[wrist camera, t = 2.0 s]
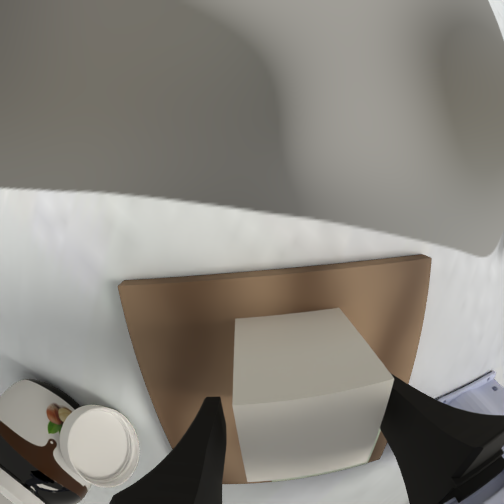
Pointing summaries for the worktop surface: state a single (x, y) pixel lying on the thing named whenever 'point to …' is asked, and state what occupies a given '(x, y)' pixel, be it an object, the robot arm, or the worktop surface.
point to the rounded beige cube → (305, 394)
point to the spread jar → (60, 445)
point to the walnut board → (257, 305)
